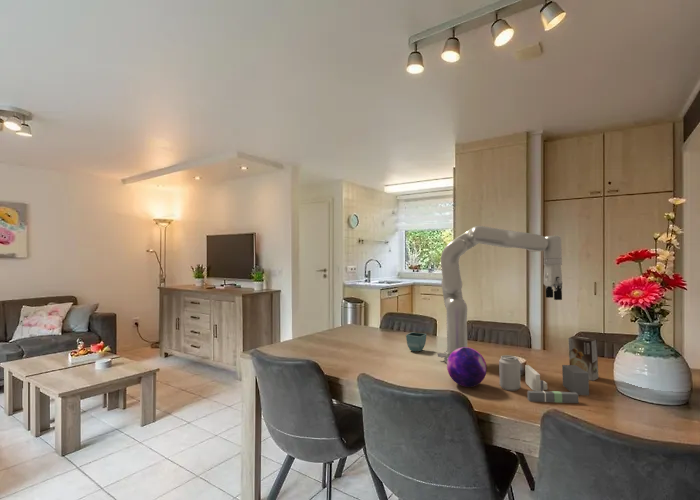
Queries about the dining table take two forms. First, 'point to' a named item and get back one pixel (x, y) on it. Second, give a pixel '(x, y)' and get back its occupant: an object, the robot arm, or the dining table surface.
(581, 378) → the frame
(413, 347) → the flower pot
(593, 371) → the coffee box
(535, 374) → the plate
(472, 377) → the decorative orb
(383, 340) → the dining table surface
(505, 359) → the can
